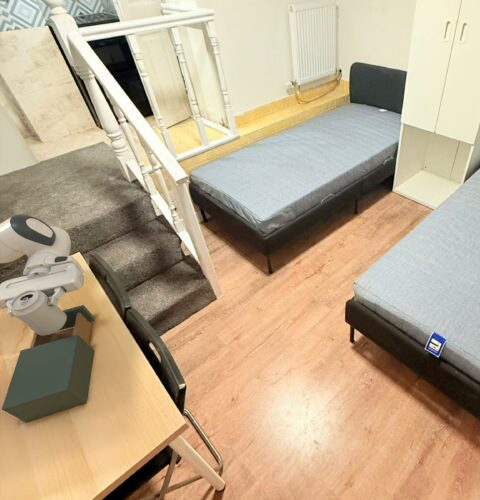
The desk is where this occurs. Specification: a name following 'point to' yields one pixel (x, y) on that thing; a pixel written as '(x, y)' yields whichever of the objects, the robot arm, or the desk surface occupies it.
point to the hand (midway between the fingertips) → (32, 309)
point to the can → (37, 312)
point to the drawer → (76, 319)
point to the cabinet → (50, 379)
